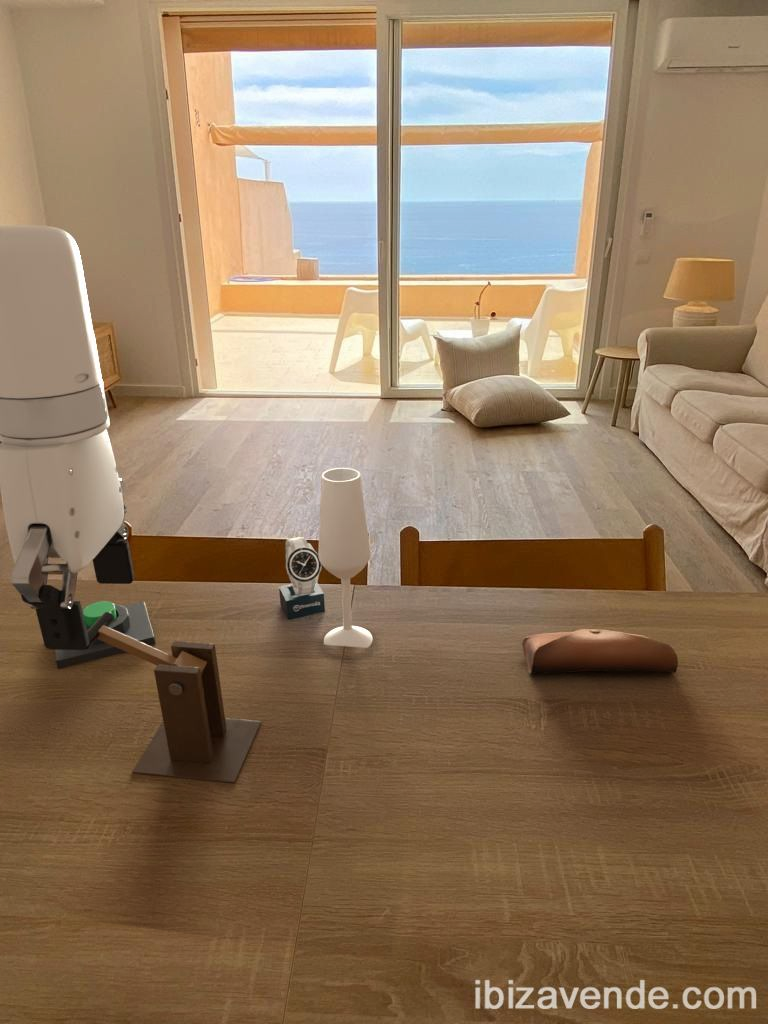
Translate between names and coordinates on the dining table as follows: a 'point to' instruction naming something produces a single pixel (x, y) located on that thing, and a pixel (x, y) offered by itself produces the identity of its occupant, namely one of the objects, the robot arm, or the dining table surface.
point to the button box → (128, 622)
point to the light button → (98, 612)
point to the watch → (301, 580)
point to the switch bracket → (195, 724)
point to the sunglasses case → (596, 652)
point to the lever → (138, 646)
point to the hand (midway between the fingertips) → (94, 612)
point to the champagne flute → (344, 545)
